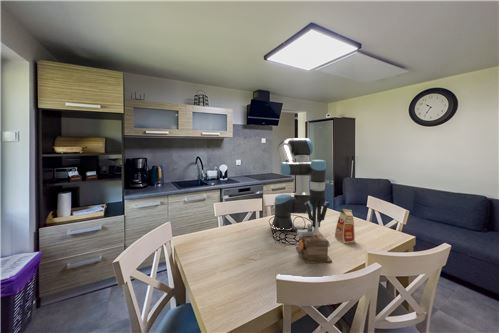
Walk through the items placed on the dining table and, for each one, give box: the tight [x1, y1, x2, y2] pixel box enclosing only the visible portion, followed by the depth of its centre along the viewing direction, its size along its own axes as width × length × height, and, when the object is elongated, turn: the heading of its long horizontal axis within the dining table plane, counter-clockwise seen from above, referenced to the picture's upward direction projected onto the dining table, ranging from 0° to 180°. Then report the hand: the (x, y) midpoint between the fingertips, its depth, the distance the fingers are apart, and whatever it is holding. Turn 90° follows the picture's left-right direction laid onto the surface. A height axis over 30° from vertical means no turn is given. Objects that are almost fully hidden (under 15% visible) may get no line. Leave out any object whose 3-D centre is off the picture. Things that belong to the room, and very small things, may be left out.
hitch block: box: [295, 229, 333, 265], centre depth 116 cm, size 16×14×11 cm
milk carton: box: [334, 208, 356, 244], centre depth 136 cm, size 9×9×20 cm
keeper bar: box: [296, 223, 314, 238], centre depth 115 cm, size 3×8×6 cm, turn 94°
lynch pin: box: [298, 239, 331, 250], centre depth 116 cm, size 5×16×5 cm, turn 94°
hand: (315, 232), depth 116 cm, fingers closed
